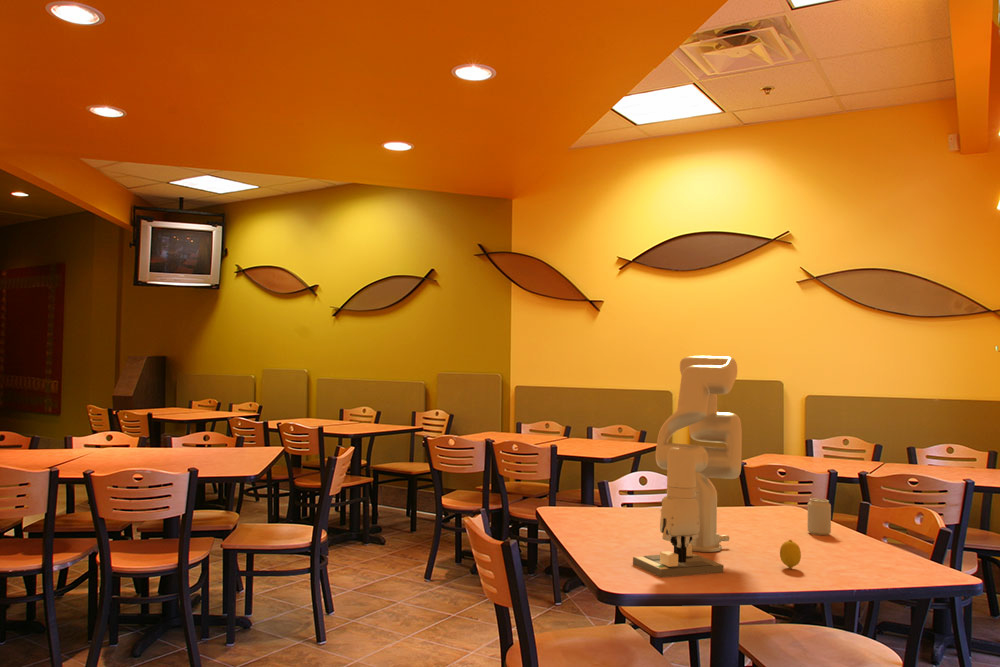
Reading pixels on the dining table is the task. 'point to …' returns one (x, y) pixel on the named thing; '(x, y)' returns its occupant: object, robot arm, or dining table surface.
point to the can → (819, 517)
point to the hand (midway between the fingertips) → (680, 561)
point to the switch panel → (690, 567)
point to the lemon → (790, 553)
